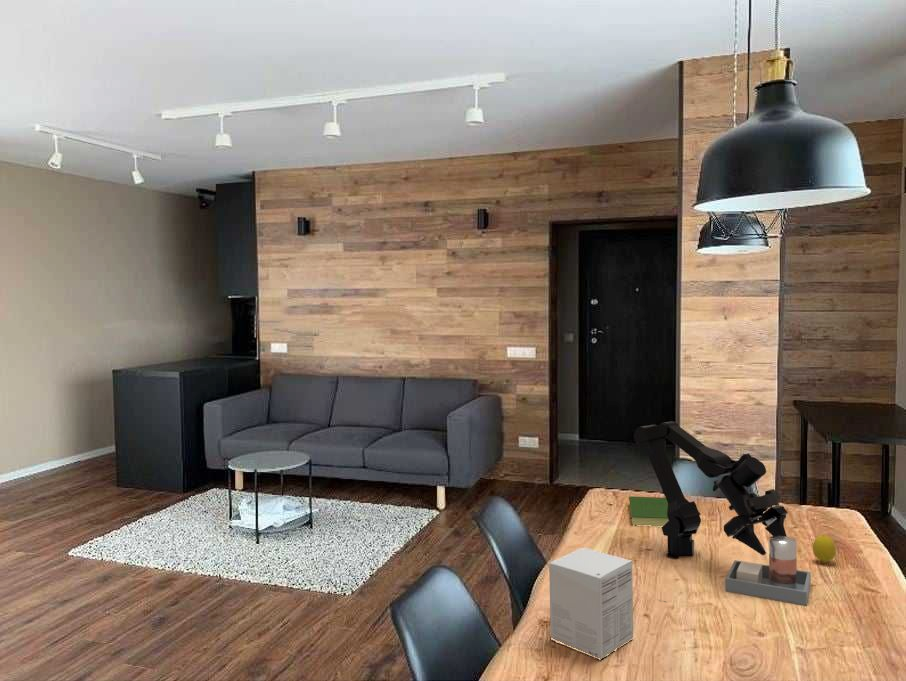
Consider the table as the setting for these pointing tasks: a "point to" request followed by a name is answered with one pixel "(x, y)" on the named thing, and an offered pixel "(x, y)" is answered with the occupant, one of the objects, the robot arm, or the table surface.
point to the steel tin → (782, 562)
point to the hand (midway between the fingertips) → (776, 550)
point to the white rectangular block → (749, 572)
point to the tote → (769, 586)
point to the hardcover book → (648, 510)
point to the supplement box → (591, 601)
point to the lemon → (824, 548)
